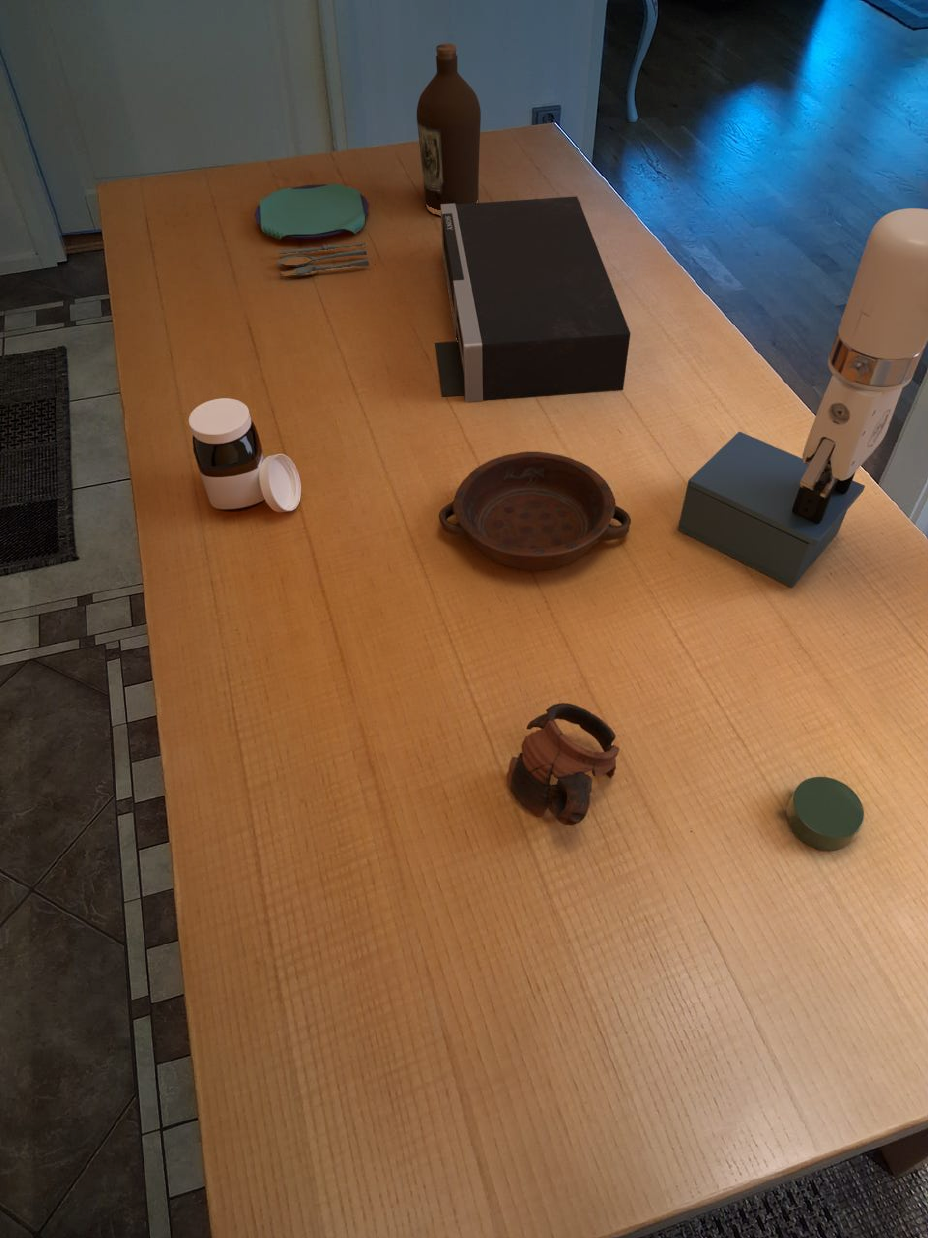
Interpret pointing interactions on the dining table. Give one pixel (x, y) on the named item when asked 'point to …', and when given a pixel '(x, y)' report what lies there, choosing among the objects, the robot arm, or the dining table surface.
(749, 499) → the lunchbox lid
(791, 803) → the dark green puck
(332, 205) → the cutlery set
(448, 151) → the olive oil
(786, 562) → the lunchbox
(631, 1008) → the dining table surface
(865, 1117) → the dining table surface
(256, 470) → the spread jar
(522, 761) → the brown hollow curved piece
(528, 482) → the dish
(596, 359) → the video player
